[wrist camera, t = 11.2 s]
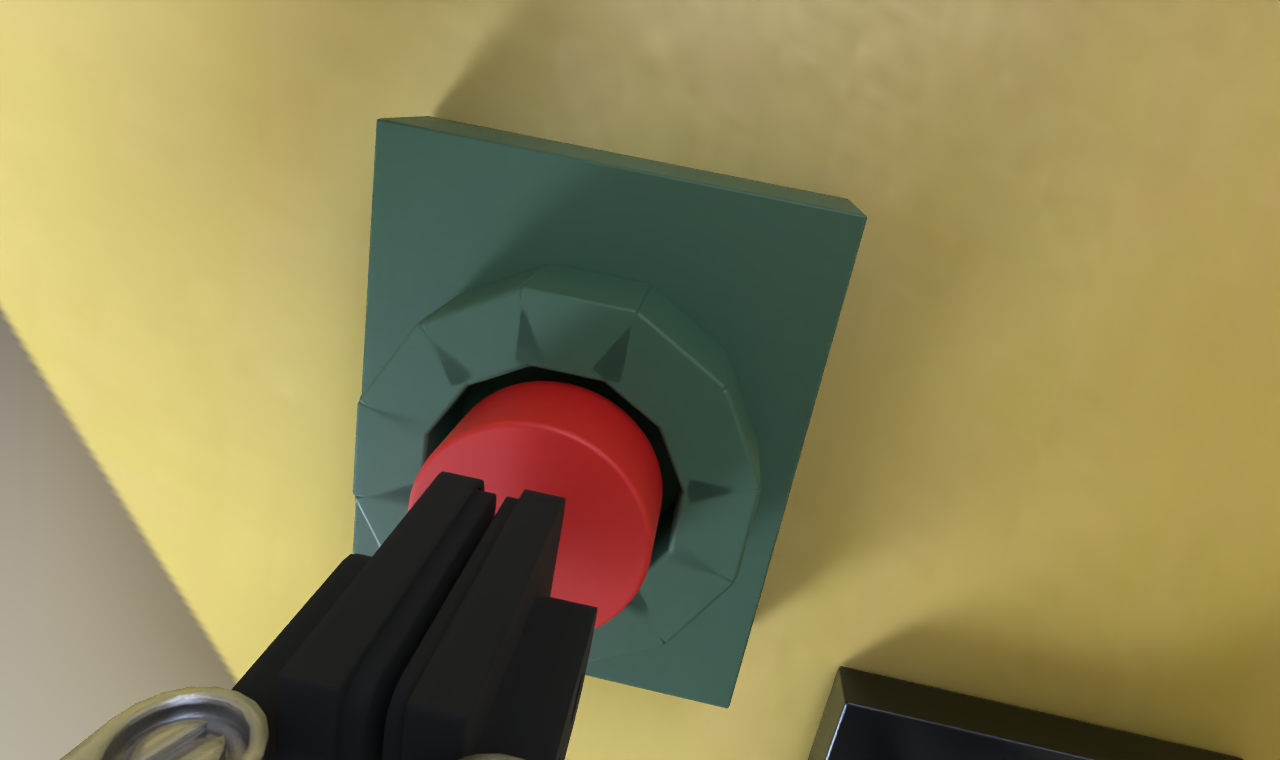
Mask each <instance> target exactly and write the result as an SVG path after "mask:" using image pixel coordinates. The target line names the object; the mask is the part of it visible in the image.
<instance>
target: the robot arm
mask: <svg viewBox="0 0 1280 760" xmlns="http://www.w3.org/2000/svg"><path fill="white" fill-rule="evenodd" d="M496 501H497V498H496V494H495V493H491V492H486V491H485V486H484V481H483V480H482V479H477V478H473V477H468V476H464V475H459V474H455V473H450V472H445V471H442V472H440V473H439V474H438V475H437V477H436V478H435V479H434V480H433V482H432V483H431V484H430V485H429V487H428V488H427V489H426V490H425V492H424V493H423V494H422V495H421V497H420V498H419V499H418V500H417V501H416V503H415V504H414V505H413V506H412V508H411V509H410V510H409V511H408V513H407V514H406V515H405V516H404V518H403V519H402V520H401V521H400V523H399V524H398V525H397V526H396V528H395V529H394V530H393V531H392V533H391V534H390V535H389V536H388V537H387V539H386V540H385V541H384V542H383V544H382V545H381V546H380V547H379V549H378V550H377V551H376V552H375V554H374V555H373V556H372V557H371V556H367V555H362V554H358V553H354V554H350V555H349V556H348V557H347V558H345V559H344V560H343V561H342V562H341V563H340V565H339V566H338V567H337V568H336V569H335V570H334V572H333V573H332V574H331V575H330V576H329V577H328V578H327V580H326V581H325V582H324V583H323V584H322V585H321V587H320V588H319V589H318V590H317V591H316V592H315V594H314V595H313V596H312V597H311V598H310V599H309V600H308V602H307V603H306V604H305V605H304V606H303V607H302V609H301V610H300V611H299V612H298V613H297V614H296V616H295V617H294V618H293V619H292V620H291V621H290V623H289V624H288V625H287V626H286V627H285V628H284V629H283V631H282V632H281V633H280V634H279V635H278V636H277V638H276V639H275V640H274V641H273V642H272V643H271V645H270V646H269V647H268V648H267V649H266V650H265V651H264V653H263V654H262V655H261V656H260V657H259V658H258V660H257V661H256V662H255V663H254V664H253V665H252V667H251V668H250V669H249V670H248V671H247V672H246V674H245V675H244V676H243V677H242V678H241V679H240V680H239V682H238V683H237V684H236V685H235V686H234V687H233V689H232V690H229V689H224V688H220V687H187V688H183V689H178V690H173V691H168V692H163V693H160V694H158V695H155V696H153V697H151V698H148V699H145V700H143V701H140V702H138V703H136V704H134V705H133V706H131V707H129V708H128V709H127V710H125V711H123V712H122V713H120V714H118V715H117V716H115V717H114V718H112V719H111V720H109V721H108V722H107V723H106V724H104V725H103V726H102V727H101V728H99V729H98V730H97V731H95V732H94V733H93V734H92V735H90V736H89V737H88V738H87V739H85V740H84V741H83V742H82V743H80V744H79V745H78V746H76V747H75V748H74V749H73V750H71V752H69V753H68V754H66V755H65V756H64V757H63V758H61V759H60V760H564V759H565V755H566V751H567V747H568V744H569V740H570V736H571V732H572V728H573V724H574V720H575V716H576V712H577V708H578V704H579V700H580V695H581V691H582V686H583V682H584V677H585V673H586V668H587V663H588V658H589V653H590V648H591V643H592V638H593V633H594V627H595V622H596V616H597V607H593V606H589V605H584V604H580V603H576V602H571V601H567V600H562V599H558V598H553V597H550V595H551V589H552V583H553V577H554V571H555V565H556V559H557V553H558V547H559V541H560V535H561V529H562V523H563V517H564V511H565V502H566V500H565V498H564V497H560V496H555V495H551V494H546V493H541V492H537V491H532V490H528V489H525V490H524V491H523V492H522V494H521V496H520V498H519V499H518V498H514V497H509V496H507V497H506V498H505V499H504V501H503V503H502V505H501V506H500V508H499V510H498V511H497V513H496V515H495V510H496Z"/></svg>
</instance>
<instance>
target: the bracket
mask: <svg viewBox="0 0 1280 760" xmlns="http://www.w3.org/2000/svg"><path fill="white" fill-rule="evenodd" d="M808 760H1244V759H1242V758H1238V757H1234V756H1230V755H1225V754H1221V753H1217V752H1212V751H1208V750H1203V749H1199V748H1195V747H1190V746H1186V745H1182V744H1177V743H1173V742H1169V741H1164V740H1160V739H1156V738H1151V737H1147V736H1143V735H1138V734H1134V733H1130V732H1125V731H1121V730H1117V729H1112V728H1108V727H1104V726H1099V725H1095V724H1091V723H1086V722H1082V721H1078V720H1073V719H1069V718H1065V717H1060V716H1056V715H1052V714H1047V713H1043V712H1039V711H1034V710H1030V709H1026V708H1021V707H1017V706H1013V705H1008V704H1004V703H1000V702H995V701H991V700H987V699H982V698H978V697H974V696H969V695H965V694H960V693H956V692H952V691H947V690H943V689H939V688H934V687H930V686H926V685H921V684H917V683H913V682H908V681H904V680H900V679H895V678H891V677H887V676H882V675H878V674H874V673H869V672H865V671H861V670H856V669H852V668H848V667H843V666H840V667H839V669H838V672H837V675H836V678H835V681H834V684H833V687H832V689H831V692H830V695H829V698H828V701H827V704H826V707H825V710H824V713H823V716H822V719H821V722H820V725H819V728H818V731H817V734H816V737H815V740H814V743H813V745H812V748H811V751H810V754H809V757H808Z"/></svg>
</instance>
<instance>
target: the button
mask: <svg viewBox="0 0 1280 760" xmlns="http://www.w3.org/2000/svg"><path fill="white" fill-rule="evenodd" d="M442 471H445V472H450V473H455V474H459V475H464V476H468V477H473V478H477V479H482V480H483V481H484V486H485V491H486V492H491V493H495V494H496V498H497V501H496V510H495V515H496V513H497V511H498V510H499V508H500V506H501V505H502V503H503V501H504V499H505V498H506V497H507V496H509V497H514V498H518V499H519V498H520V496H521V494H522V492H523V491H524V490H525V489H528V490H532V491H537V492H541V493H546V494H551V495H555V496H560V497H564V498H565V500H566V502H565V511H564V517H563V523H562V529H561V535H560V541H559V547H558V553H557V559H556V565H555V571H554V577H553V583H552V589H551V595H550V597H553V598H558V599H562V600H567V601H571V602H576V603H580V604H584V605H589V606H593V607H597V616H596V622H595V627H594V629H596V628H598V627H600V626H601V625H603V624H605V623H606V622H608V621H610V620H611V619H612V618H614V617H615V616H616V615H617V614H619V613H620V612H621V611H622V610H623V609H624V608H625V607H626V606H627V605H628V604H629V603H630V602H631V601H632V600H633V598H634V597H635V595H636V594H637V592H638V591H639V589H640V588H641V585H642V583H643V581H644V579H645V577H646V574H647V571H648V568H649V564H650V560H651V555H652V550H653V545H654V540H655V535H656V530H657V525H658V520H659V515H660V510H661V504H662V497H663V483H662V476H661V470H660V466H659V463H658V460H657V456H656V454H655V452H654V450H653V448H652V445H651V443H650V442H649V440H648V438H647V437H646V435H645V434H644V432H643V431H642V429H641V428H640V427H639V426H638V425H637V423H636V422H635V421H634V420H633V419H632V418H631V417H630V416H629V415H628V414H627V413H626V412H625V411H624V410H623V409H621V408H620V407H618V406H617V405H616V404H614V403H613V402H612V401H610V400H608V399H607V398H605V397H603V396H601V395H600V394H598V393H596V392H593V391H591V390H588V389H586V388H583V387H580V386H576V385H573V384H569V383H563V382H556V381H532V382H524V383H519V384H515V385H511V386H508V387H506V388H503V389H500V390H498V391H496V392H494V393H492V394H491V395H489V396H487V397H485V398H484V399H483V400H481V401H480V402H479V403H478V404H476V405H475V406H474V407H473V408H472V409H471V410H470V411H469V412H468V413H467V414H466V415H465V416H464V418H463V419H462V420H461V421H460V422H459V423H458V424H457V426H456V427H455V428H454V429H453V430H452V431H451V432H450V433H449V435H448V436H447V437H446V438H445V439H444V440H443V441H442V443H441V444H440V445H439V446H438V447H437V448H436V449H435V450H434V452H433V453H432V454H431V455H430V456H429V457H428V459H427V460H426V462H425V463H424V464H423V466H422V467H421V469H420V471H419V473H418V475H417V477H416V479H415V481H414V484H413V487H412V490H411V494H410V499H409V506H408V511H409V510H410V509H411V508H412V506H413V505H414V504H415V503H416V501H417V500H418V499H419V498H420V497H421V495H422V494H423V493H424V492H425V490H426V489H427V488H428V487H429V485H430V484H431V483H432V482H433V480H434V479H435V478H436V477H437V475H438V474H439V473H440V472H442Z"/></svg>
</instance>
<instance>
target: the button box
mask: <svg viewBox="0 0 1280 760" xmlns="http://www.w3.org/2000/svg"><path fill="white" fill-rule="evenodd" d="M866 220H867V216H866V215H865V214H864V213H863V212H862V211H860V210H859V209H858V208H857V207H856V206H855V205H854V204H853V203H852V202H851V201H850V200H848V199H845V198H840V197H835V196H830V195H824V194H819V193H814V192H809V191H804V190H799V189H794V188H789V187H784V186H779V185H774V184H769V183H764V182H759V181H754V180H749V179H744V178H739V177H733V176H728V175H723V174H718V173H713V172H708V171H703V170H698V169H693V168H688V167H683V166H678V165H673V164H668V163H663V162H658V161H653V160H648V159H642V158H637V157H632V156H627V155H622V154H617V153H612V152H607V151H602V150H597V149H592V148H587V147H582V146H577V145H572V144H567V143H562V142H557V141H551V140H546V139H541V138H536V137H531V136H526V135H521V134H516V133H511V132H506V131H501V130H496V129H491V128H486V127H481V126H476V125H471V124H466V123H460V122H455V121H450V120H445V119H440V118H435V117H430V116H424V117H402V118H380V119H377V127H376V145H375V163H374V181H373V200H372V218H371V236H370V254H369V272H368V290H367V309H366V327H365V345H364V363H363V381H362V395H361V397H360V401H359V402H358V409H357V428H356V447H355V466H354V484H353V494H354V495H355V499H356V508H355V527H354V545H353V554H354V553H358V554H362V555H367V556H371V557H372V556H373V555H374V554H375V552H376V551H377V550H378V549H379V547H380V546H381V545H382V544H383V542H384V541H385V540H386V539H387V537H388V536H389V535H390V534H391V533H392V531H393V530H394V529H395V528H396V526H397V525H398V524H399V523H400V521H401V520H402V519H403V518H404V516H405V515H406V514H407V513H408V506H409V499H410V494H411V490H412V487H413V484H414V481H415V479H416V477H417V475H418V473H419V471H420V469H421V467H422V466H423V464H424V463H425V462H426V460H427V459H428V457H429V456H430V455H431V454H432V453H433V452H434V450H435V449H436V448H437V447H438V446H439V445H440V444H441V443H442V441H443V440H444V439H445V438H446V437H447V436H448V435H449V433H450V432H451V431H452V430H453V429H454V428H455V427H456V426H457V424H458V423H459V422H460V421H461V420H462V419H463V418H464V416H465V415H466V414H467V413H468V412H469V411H470V410H471V409H472V408H473V407H474V406H475V405H476V404H478V403H479V402H480V401H481V400H483V399H484V398H485V397H487V396H489V395H491V394H492V393H494V392H496V391H498V390H500V389H503V388H506V387H508V386H511V385H515V384H519V383H524V382H532V381H556V382H563V383H569V384H573V385H576V386H580V387H583V388H586V389H588V390H591V391H593V392H596V393H598V394H600V395H601V396H603V397H605V398H607V399H608V400H610V401H612V402H613V403H614V404H616V405H617V406H618V407H620V408H621V409H623V410H624V411H625V412H626V413H627V414H628V415H629V416H630V417H631V418H632V419H633V420H634V421H635V422H636V423H637V425H638V426H639V427H640V428H641V429H642V431H643V432H644V434H645V435H646V437H647V438H648V440H649V442H650V443H651V445H652V448H653V450H654V452H655V454H656V456H657V460H658V463H659V466H660V470H661V476H662V483H663V497H662V504H661V510H660V515H659V520H658V525H657V530H656V535H655V540H654V545H653V550H652V555H651V560H650V564H649V568H648V571H647V574H646V577H645V579H644V581H643V583H642V585H641V588H640V589H639V591H638V592H637V594H636V595H635V597H634V598H633V600H632V601H631V602H630V603H629V604H628V605H627V606H626V607H625V608H624V609H623V610H622V611H621V612H620V613H619V614H617V615H616V616H615V617H614V618H612V619H611V620H610V621H608V622H606V623H605V624H603V625H601V626H600V627H598V628H596V629H594V633H593V638H592V643H591V648H590V653H589V658H588V663H587V668H586V673H585V675H588V676H592V677H596V678H600V679H605V680H609V681H613V682H617V683H622V684H626V685H630V686H634V687H639V688H643V689H647V690H651V691H656V692H660V693H664V694H668V695H673V696H677V697H681V698H685V699H690V700H694V701H698V702H702V703H707V704H711V705H715V706H719V707H724V708H728V707H729V705H730V702H731V698H732V695H733V691H734V688H735V684H736V681H737V677H738V674H739V670H740V666H741V663H742V659H743V656H744V652H745V649H746V645H747V642H748V638H749V635H750V631H751V627H752V624H753V620H754V617H755V613H756V610H757V606H758V603H759V599H760V596H761V592H762V589H763V585H764V581H765V578H766V574H767V571H768V567H769V564H770V560H771V557H772V553H773V550H774V546H775V542H776V539H777V535H778V532H779V528H780V525H781V521H782V518H783V514H784V511H785V507H786V504H787V500H788V496H789V493H790V489H791V486H792V482H793V479H794V475H795V472H796V468H797V465H798V461H799V457H800V454H801V450H802V447H803V443H804V440H805V436H806V433H807V429H808V426H809V422H810V418H811V415H812V411H813V408H814V404H815V401H816V397H817V394H818V390H819V387H820V383H821V380H822V376H823V372H824V369H825V365H826V362H827V358H828V355H829V351H830V348H831V344H832V341H833V337H834V333H835V330H836V326H837V323H838V319H839V316H840V312H841V309H842V305H843V302H844V298H845V295H846V291H847V287H848V284H849V280H850V277H851V273H852V270H853V266H854V263H855V259H856V256H857V252H858V248H859V245H860V241H861V238H862V234H863V231H864V227H865V224H866Z"/></svg>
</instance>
